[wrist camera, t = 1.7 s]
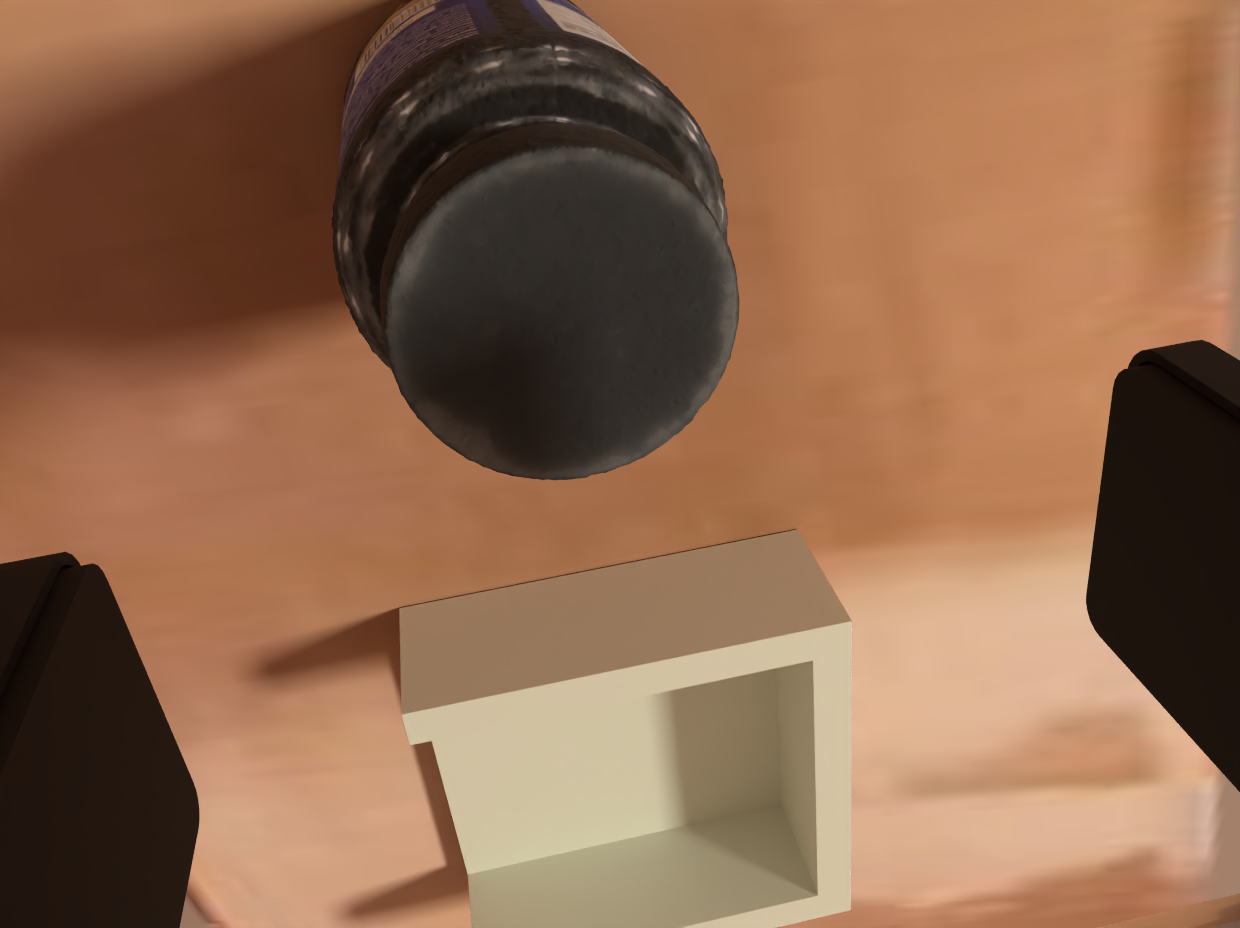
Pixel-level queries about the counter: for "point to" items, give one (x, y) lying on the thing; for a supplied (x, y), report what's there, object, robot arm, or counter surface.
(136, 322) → the counter surface
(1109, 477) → the robot arm
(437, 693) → the holder
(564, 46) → the pill bottle
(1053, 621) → the counter surface
